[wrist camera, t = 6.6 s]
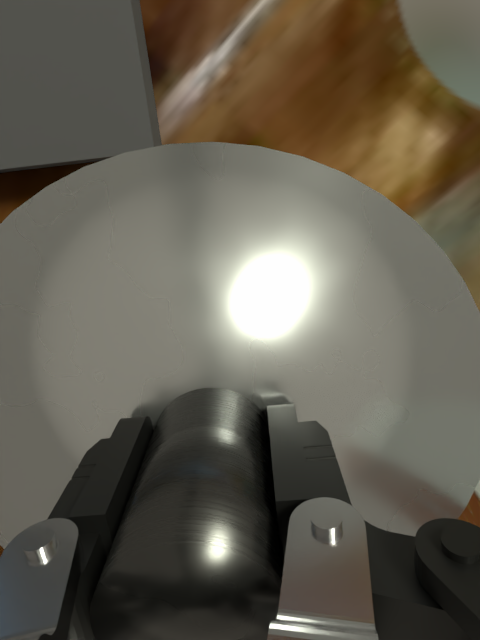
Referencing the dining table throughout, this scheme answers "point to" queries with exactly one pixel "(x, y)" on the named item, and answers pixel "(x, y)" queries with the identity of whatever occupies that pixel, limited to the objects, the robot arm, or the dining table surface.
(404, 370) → the lid
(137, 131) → the mat
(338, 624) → the robot arm
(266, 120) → the dining table surface
